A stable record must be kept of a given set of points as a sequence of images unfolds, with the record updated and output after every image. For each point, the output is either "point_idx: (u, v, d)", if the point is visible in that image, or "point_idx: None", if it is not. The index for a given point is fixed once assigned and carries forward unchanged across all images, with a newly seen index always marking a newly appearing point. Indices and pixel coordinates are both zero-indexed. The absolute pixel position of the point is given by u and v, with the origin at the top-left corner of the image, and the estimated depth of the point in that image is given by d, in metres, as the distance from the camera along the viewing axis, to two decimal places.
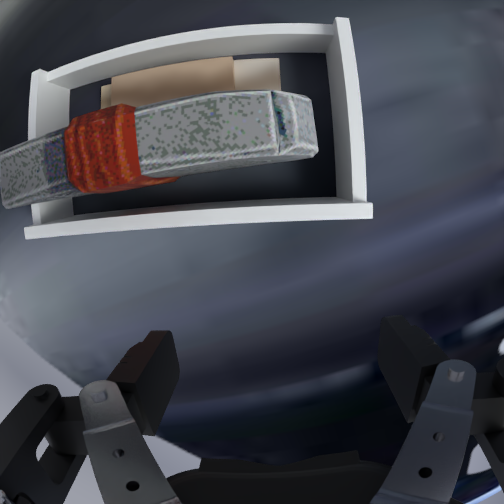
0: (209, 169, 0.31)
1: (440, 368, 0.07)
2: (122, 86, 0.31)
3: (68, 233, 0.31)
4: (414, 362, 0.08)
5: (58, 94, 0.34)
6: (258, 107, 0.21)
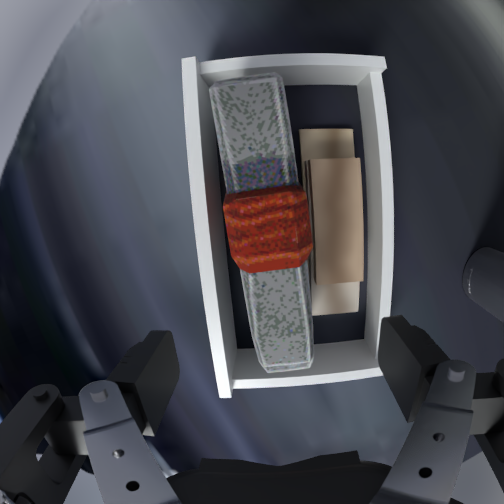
0: None
1: (440, 368, 0.07)
2: (347, 171, 0.34)
3: (187, 124, 0.29)
4: (414, 362, 0.08)
5: (352, 78, 0.33)
6: (295, 357, 0.27)
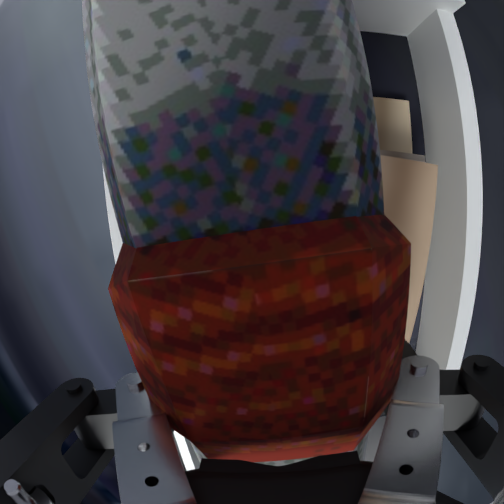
0: None
1: (401, 365, 0.07)
2: (416, 185, 0.18)
3: None
4: None
5: (405, 20, 0.17)
6: None
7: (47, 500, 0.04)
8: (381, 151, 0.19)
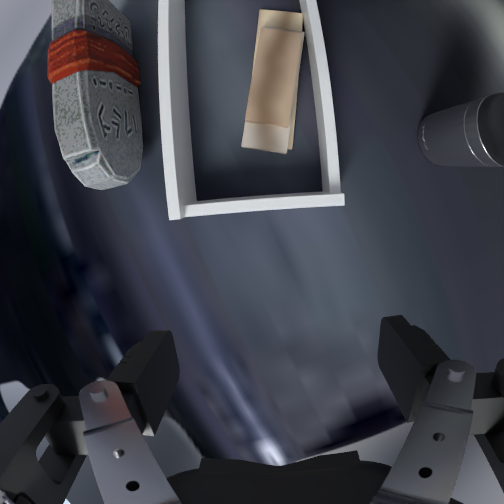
0: None
1: (440, 368, 0.07)
2: (289, 40, 0.37)
3: (159, 0, 0.32)
4: (414, 363, 0.08)
5: None
6: (80, 144, 0.30)
7: None
8: (281, 29, 0.38)
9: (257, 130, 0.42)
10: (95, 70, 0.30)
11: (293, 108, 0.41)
